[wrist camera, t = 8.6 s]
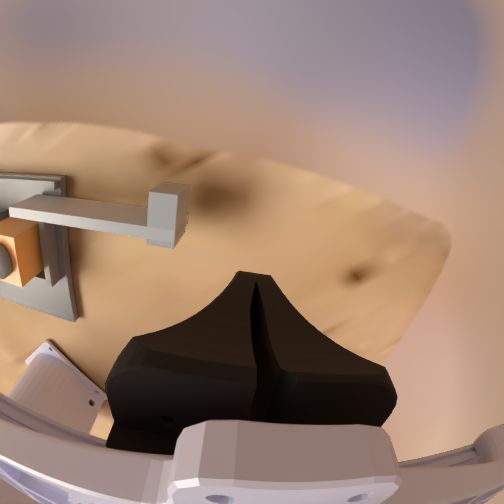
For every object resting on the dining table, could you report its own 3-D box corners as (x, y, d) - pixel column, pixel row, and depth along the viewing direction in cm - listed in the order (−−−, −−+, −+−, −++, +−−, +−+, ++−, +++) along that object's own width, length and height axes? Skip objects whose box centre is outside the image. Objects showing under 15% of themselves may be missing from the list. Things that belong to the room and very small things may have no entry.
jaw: (44, 219, 19) (8, 240, 15) (49, 264, 21) (18, 291, 17) (13, 214, 19) (-22, 233, 15) (18, 257, 21) (-13, 280, 17)
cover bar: (192, 183, 18) (177, 195, 15) (187, 228, 19) (173, 248, 16) (36, 169, 18) (7, 179, 14) (37, 207, 19) (10, 221, 15)
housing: (66, 175, 19) (49, 181, 17) (78, 317, 24) (67, 331, 22) (-30, 171, 18) (-46, 177, 16) (-13, 286, 23) (-25, 296, 21)
